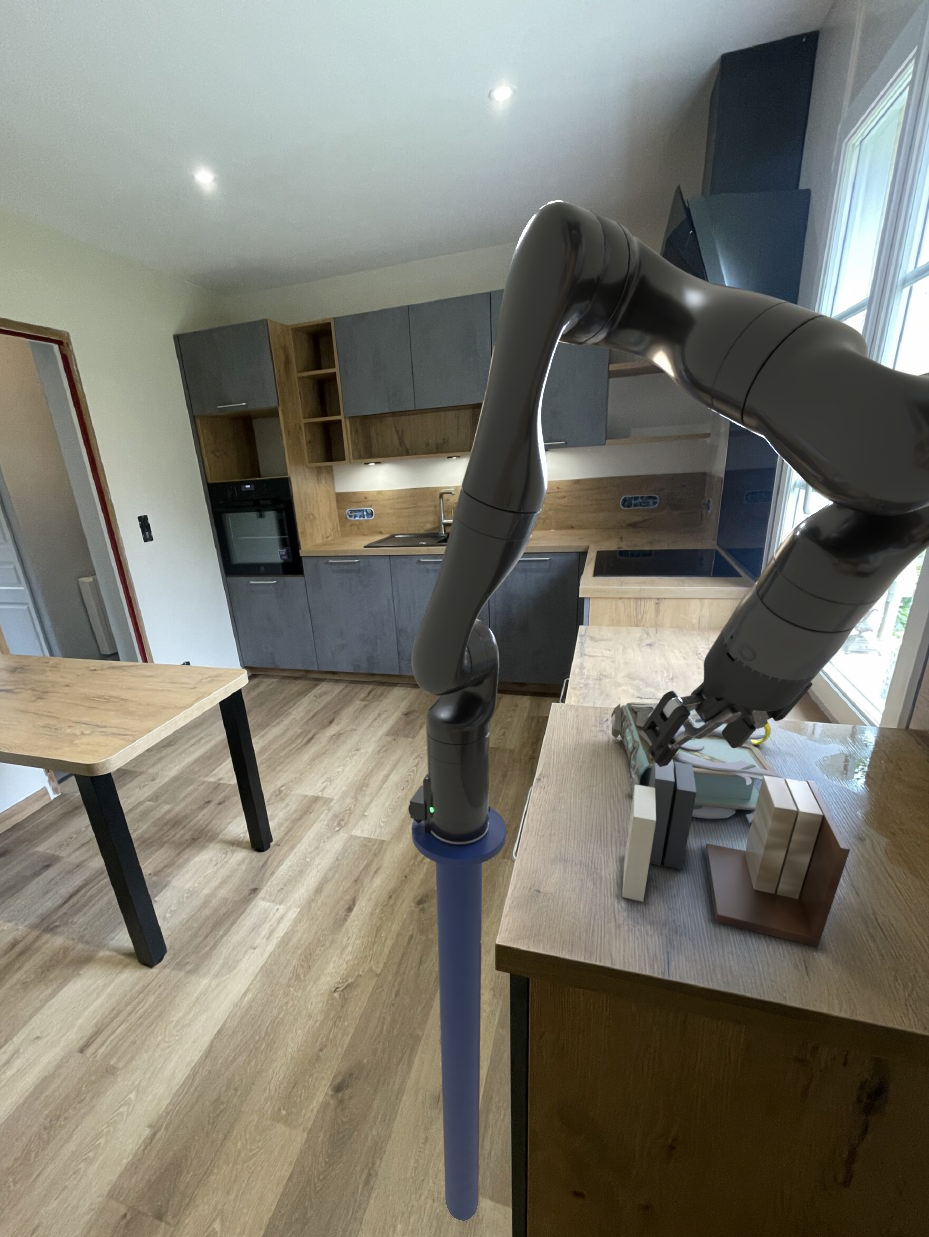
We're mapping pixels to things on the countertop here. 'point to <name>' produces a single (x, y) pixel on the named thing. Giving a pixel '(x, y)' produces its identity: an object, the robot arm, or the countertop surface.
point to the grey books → (672, 812)
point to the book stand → (781, 865)
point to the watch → (767, 732)
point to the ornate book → (697, 762)
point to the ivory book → (639, 842)
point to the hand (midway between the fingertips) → (693, 749)
